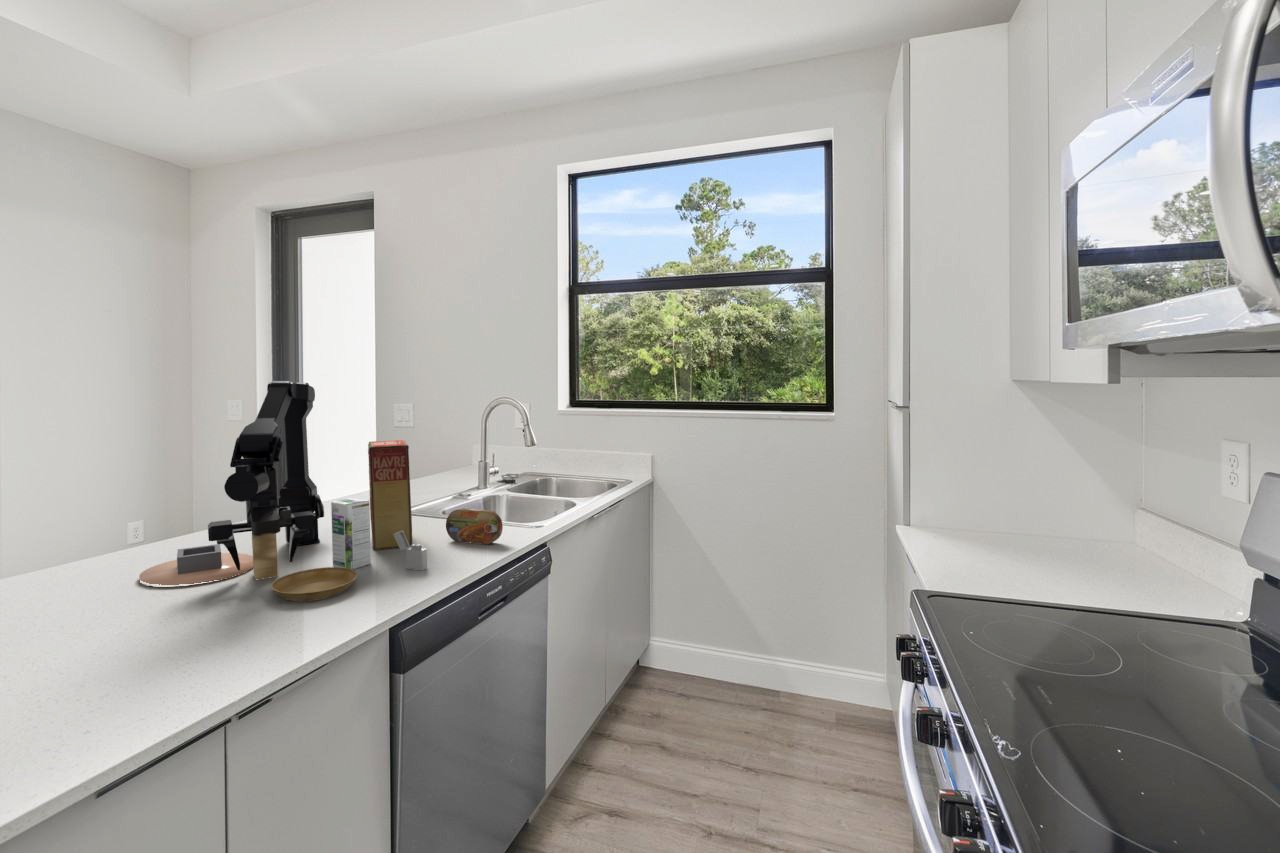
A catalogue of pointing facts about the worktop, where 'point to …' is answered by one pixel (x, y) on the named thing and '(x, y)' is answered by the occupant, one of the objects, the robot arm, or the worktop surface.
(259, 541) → the oak peg
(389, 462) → the food packaging
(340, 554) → the syrup box
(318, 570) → the plant saucer
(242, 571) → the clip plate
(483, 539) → the tin
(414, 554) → the lighter
